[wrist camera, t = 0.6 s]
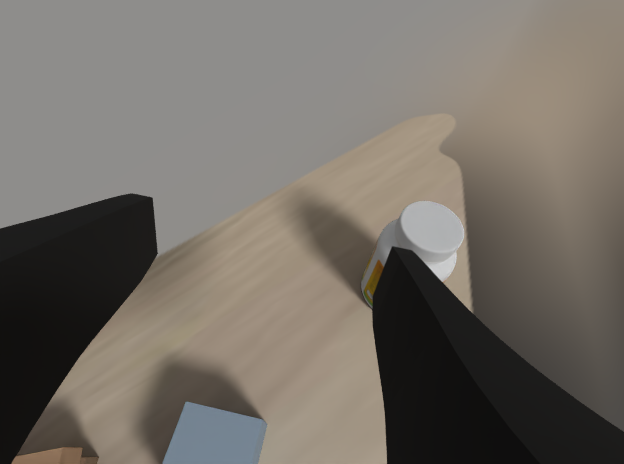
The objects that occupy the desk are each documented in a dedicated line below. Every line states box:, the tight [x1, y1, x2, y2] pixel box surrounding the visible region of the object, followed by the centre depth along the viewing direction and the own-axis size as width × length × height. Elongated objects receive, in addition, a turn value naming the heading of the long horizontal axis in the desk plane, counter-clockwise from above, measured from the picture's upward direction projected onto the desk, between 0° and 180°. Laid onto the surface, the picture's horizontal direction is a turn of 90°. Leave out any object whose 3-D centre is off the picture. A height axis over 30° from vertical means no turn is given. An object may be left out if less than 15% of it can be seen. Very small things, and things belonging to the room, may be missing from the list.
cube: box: [162, 401, 267, 464], centre depth 18 cm, size 4×4×4 cm
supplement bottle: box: [361, 201, 464, 308], centre depth 23 cm, size 5×5×10 cm
